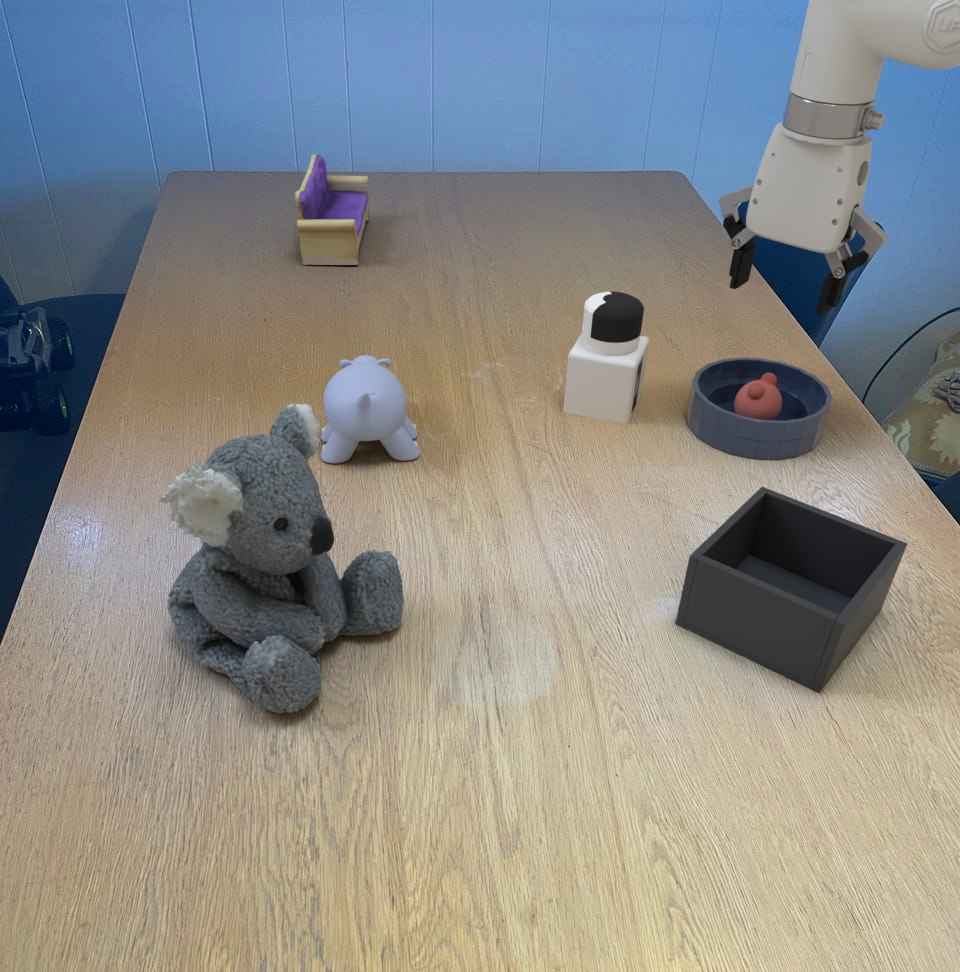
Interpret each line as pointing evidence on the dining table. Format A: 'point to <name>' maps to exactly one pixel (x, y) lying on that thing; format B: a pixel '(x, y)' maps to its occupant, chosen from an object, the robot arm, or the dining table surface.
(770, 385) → the plush toy
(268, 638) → the koala plush
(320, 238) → the toy sofa
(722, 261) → the dining table surface
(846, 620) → the bin
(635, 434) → the dining table surface
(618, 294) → the container
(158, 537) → the dining table surface
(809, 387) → the bowl
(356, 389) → the hippopotamus toy
